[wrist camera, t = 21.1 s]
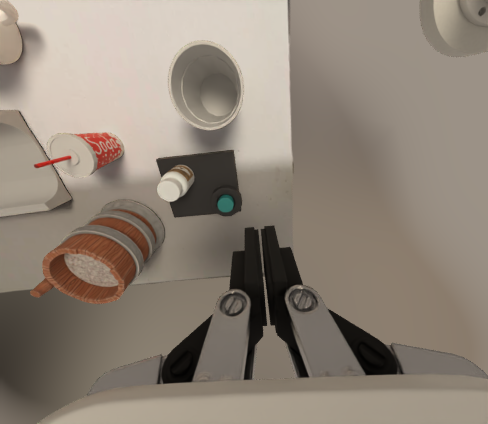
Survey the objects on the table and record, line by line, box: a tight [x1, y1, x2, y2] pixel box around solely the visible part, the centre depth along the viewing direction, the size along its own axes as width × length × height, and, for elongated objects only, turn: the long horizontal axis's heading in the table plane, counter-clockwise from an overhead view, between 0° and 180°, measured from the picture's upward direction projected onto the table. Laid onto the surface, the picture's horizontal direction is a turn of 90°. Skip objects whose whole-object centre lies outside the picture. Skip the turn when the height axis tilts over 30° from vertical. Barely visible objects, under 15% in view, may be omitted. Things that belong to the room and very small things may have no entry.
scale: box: [156, 150, 242, 217], centre depth 37 cm, size 14×12×3 cm
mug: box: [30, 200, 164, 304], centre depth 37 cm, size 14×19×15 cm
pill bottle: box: [157, 165, 194, 202], centre depth 32 cm, size 4×4×8 cm
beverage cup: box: [34, 132, 124, 178], centre depth 28 cm, size 6×6×14 cm
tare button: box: [217, 195, 234, 212], centre depth 36 cm, size 3×3×2 cm
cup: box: [168, 40, 244, 130], centre depth 25 cm, size 8×8×12 cm
